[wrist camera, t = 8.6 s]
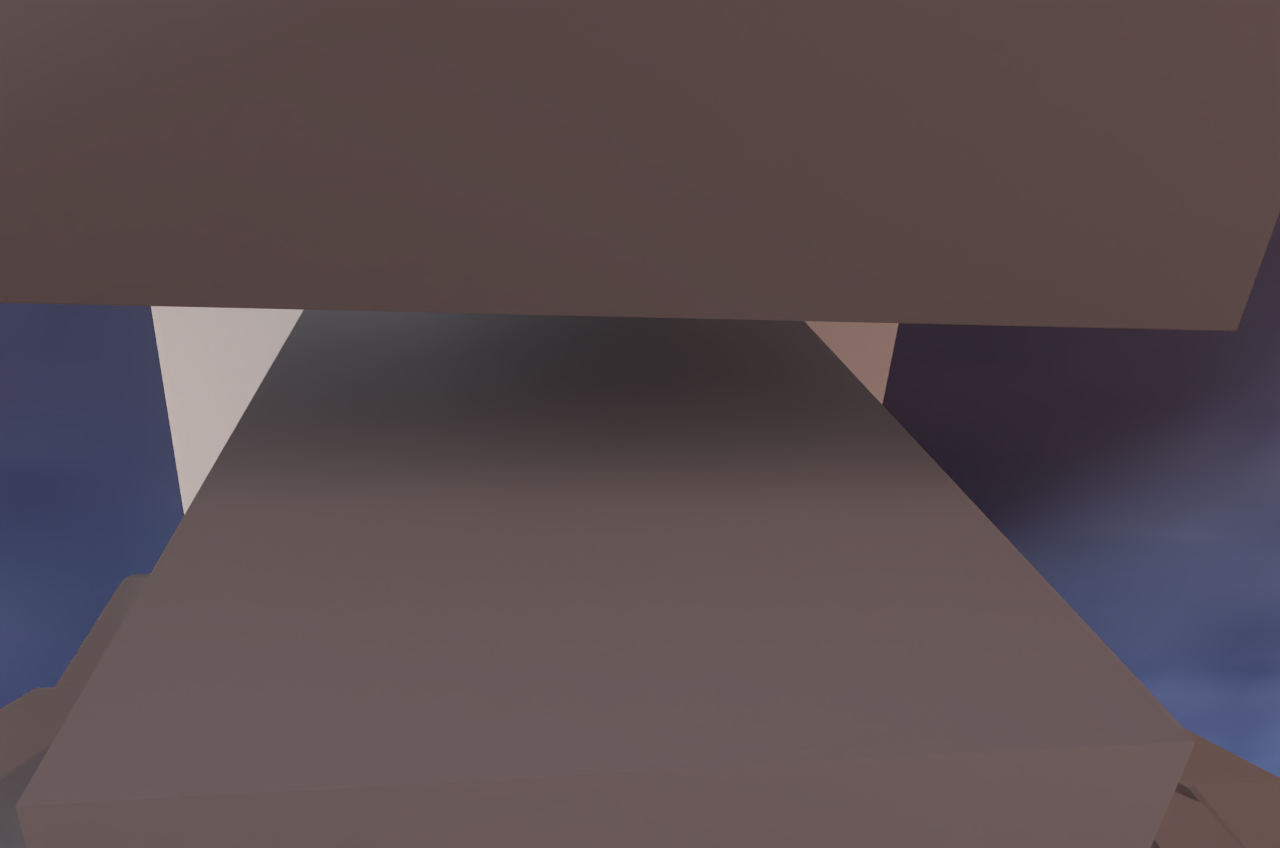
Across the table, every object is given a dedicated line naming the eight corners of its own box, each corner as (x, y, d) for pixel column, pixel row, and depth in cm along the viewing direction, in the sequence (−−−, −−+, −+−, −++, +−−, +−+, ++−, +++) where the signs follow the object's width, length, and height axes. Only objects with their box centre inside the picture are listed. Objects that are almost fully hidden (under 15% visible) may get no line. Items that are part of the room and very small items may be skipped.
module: (336, 254, 11) (2, 827, 3) (755, 268, 11) (1211, 755, 4) (362, 667, 13) (202, 1507, 6) (704, 656, 14) (936, 1381, 7)
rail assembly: (106, -165, 11) (-847, -522, 3) (947, -84, 13) (1674, -189, 5) (237, 715, 17) (9, 1357, 9) (802, 691, 19) (1029, 1215, 11)
